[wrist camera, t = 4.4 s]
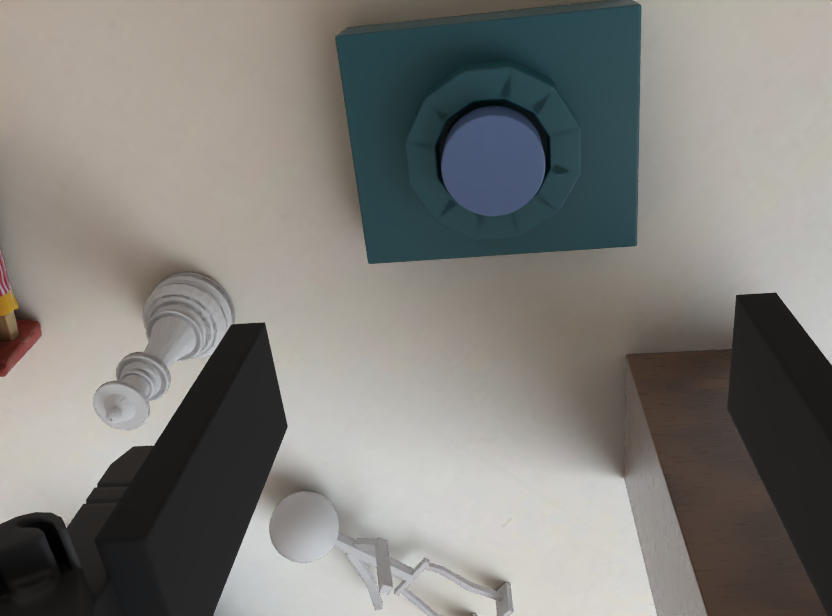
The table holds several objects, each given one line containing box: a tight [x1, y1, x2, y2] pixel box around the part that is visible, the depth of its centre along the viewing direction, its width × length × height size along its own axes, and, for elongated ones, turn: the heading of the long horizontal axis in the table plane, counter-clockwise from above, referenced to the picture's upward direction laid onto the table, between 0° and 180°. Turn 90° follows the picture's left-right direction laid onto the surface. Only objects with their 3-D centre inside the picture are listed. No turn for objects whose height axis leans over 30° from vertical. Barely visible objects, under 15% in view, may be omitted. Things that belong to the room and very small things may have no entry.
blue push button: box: [441, 105, 546, 216], centre depth 31 cm, size 4×4×2 cm
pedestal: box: [624, 350, 827, 616], centre depth 31 cm, size 8×8×22 cm
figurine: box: [269, 491, 513, 616], centre depth 45 cm, size 6×6×15 cm
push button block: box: [335, 0, 641, 264], centre depth 33 cm, size 12×10×4 cm
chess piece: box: [93, 273, 235, 430], centre depth 36 cm, size 4×4×10 cm
